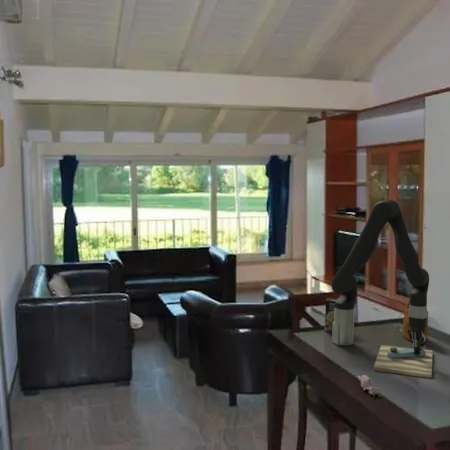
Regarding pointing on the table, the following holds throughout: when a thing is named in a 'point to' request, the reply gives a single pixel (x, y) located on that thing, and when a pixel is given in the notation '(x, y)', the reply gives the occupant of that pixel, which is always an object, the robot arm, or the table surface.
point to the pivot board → (404, 363)
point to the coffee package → (405, 322)
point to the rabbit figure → (368, 384)
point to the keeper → (420, 347)
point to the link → (405, 353)
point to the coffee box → (329, 313)
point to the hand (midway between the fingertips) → (417, 354)
